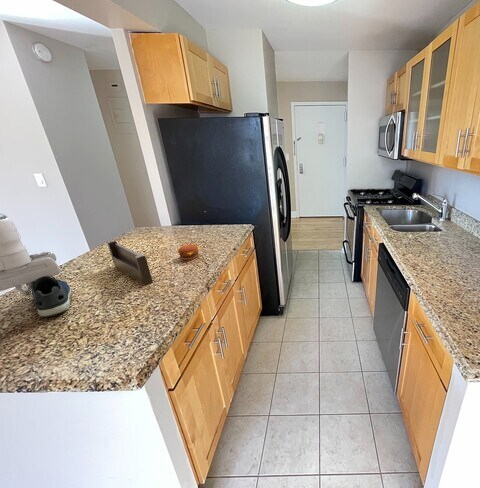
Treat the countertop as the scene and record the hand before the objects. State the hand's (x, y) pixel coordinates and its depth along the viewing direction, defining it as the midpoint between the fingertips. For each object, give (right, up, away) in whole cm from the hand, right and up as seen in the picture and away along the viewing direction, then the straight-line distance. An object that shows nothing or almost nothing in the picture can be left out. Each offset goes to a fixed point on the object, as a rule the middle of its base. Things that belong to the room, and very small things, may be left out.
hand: (28, 294), depth 93 cm
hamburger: (+35, +11, +44) cm, 58 cm away
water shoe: (+3, -4, +7) cm, 8 cm away
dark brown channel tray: (+17, +4, +27) cm, 32 cm away
